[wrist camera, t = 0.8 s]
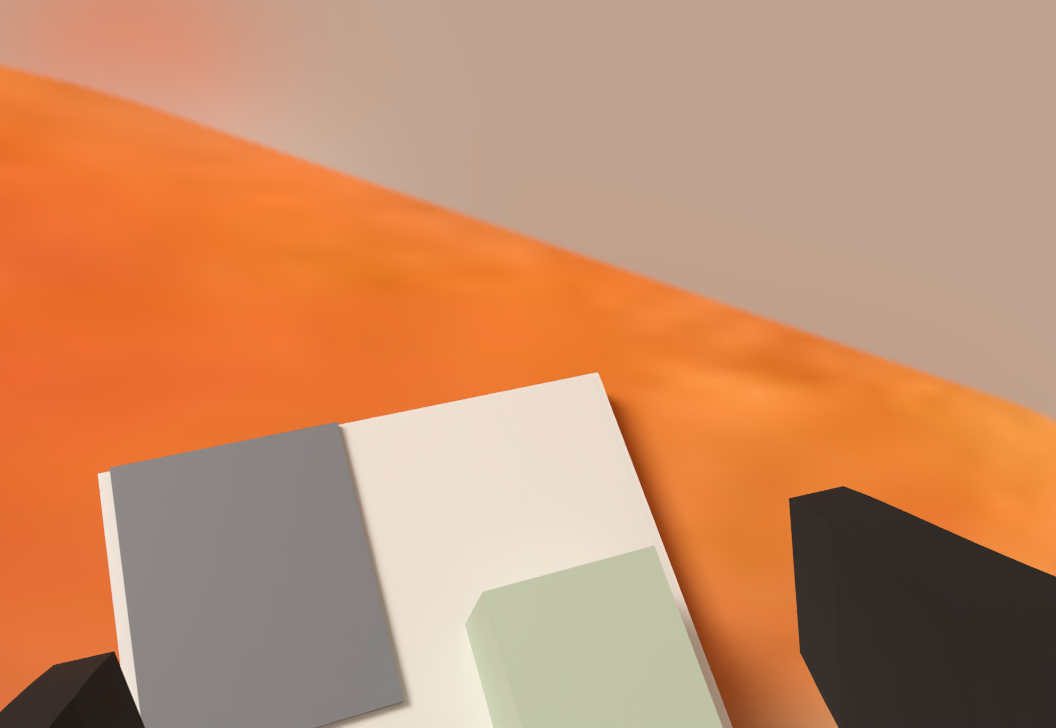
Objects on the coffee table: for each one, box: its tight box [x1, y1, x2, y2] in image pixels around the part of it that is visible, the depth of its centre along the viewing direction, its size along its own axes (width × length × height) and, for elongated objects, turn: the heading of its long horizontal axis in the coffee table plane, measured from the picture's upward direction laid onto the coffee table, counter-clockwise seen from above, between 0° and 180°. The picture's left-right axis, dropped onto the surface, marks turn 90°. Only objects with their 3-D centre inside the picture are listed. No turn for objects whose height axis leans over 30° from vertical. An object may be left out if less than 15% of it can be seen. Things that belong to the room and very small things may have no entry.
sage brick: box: [465, 546, 723, 728], centre depth 20 cm, size 6×4×3 cm
